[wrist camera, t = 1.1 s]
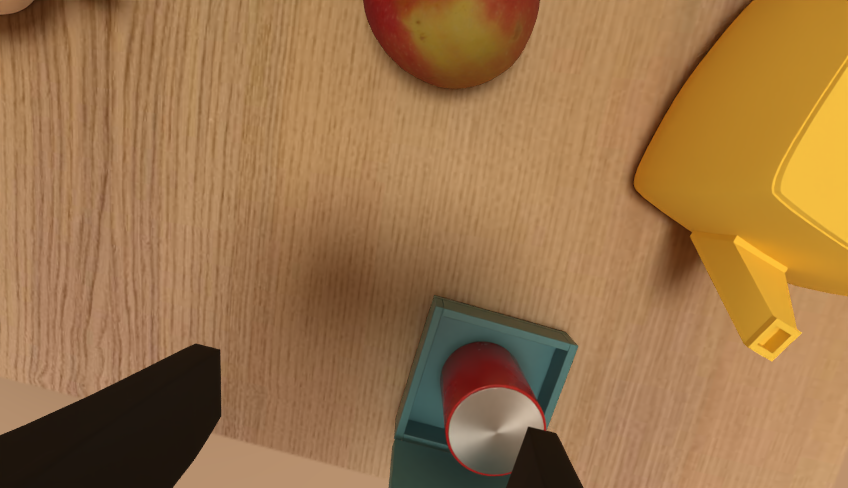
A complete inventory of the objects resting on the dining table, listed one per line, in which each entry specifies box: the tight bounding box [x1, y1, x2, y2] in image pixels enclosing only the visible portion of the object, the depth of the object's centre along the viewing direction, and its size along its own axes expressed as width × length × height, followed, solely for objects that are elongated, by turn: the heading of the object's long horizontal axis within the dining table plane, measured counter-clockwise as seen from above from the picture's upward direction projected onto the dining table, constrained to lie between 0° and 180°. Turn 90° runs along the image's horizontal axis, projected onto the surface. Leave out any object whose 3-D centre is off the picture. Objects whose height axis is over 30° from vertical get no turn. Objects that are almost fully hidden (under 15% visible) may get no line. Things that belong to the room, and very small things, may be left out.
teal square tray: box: [394, 295, 578, 454], centre depth 27 cm, size 9×9×2 cm
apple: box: [363, 0, 540, 89], centre depth 20 cm, size 8×8×8 cm
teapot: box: [634, 0, 848, 361], centre depth 20 cm, size 20×12×12 cm, turn 149°
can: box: [440, 342, 546, 476], centre depth 25 cm, size 5×5×6 cm
